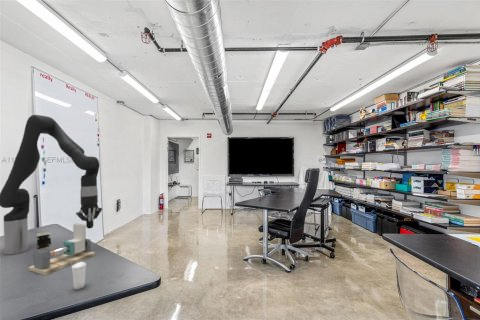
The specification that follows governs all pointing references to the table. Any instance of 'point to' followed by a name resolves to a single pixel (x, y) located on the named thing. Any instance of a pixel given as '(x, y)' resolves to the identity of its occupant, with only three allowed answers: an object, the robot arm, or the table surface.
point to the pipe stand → (58, 259)
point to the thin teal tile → (71, 247)
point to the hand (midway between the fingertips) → (89, 228)
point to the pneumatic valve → (43, 240)
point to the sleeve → (79, 237)
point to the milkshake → (79, 274)
